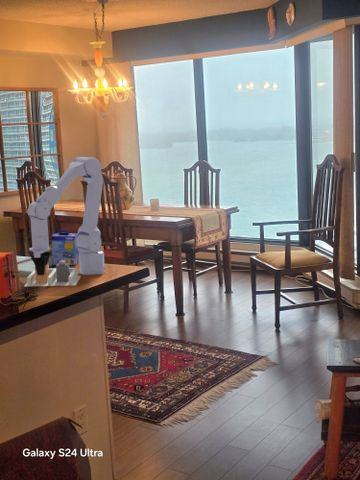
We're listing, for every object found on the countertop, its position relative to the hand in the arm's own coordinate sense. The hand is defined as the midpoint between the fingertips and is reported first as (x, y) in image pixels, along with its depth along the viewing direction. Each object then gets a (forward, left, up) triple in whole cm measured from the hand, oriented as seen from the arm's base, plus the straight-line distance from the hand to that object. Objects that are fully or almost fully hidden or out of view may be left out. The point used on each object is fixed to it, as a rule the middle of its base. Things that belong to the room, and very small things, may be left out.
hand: (42, 273), depth 227 cm
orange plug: (0, 0, -3) cm, 3 cm away
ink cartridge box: (-3, -33, -4) cm, 33 cm away
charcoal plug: (-7, -1, -3) cm, 8 cm away
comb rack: (-4, -1, -4) cm, 5 cm away
